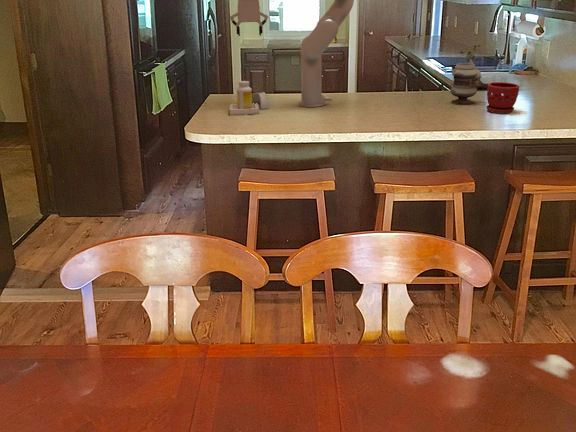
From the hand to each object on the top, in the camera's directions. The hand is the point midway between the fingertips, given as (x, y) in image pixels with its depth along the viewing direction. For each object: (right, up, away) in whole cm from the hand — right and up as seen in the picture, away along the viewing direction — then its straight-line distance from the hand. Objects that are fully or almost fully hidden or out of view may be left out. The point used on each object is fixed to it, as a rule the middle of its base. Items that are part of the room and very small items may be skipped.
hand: (249, 35), depth 281 cm
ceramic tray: (-2, -35, -2) cm, 35 cm away
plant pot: (+111, -37, -11) cm, 117 cm away
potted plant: (+117, -14, +49) cm, 128 cm away
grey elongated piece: (+3, -29, +15) cm, 33 cm away
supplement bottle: (-2, -35, -2) cm, 35 cm away
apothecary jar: (+100, -29, +10) cm, 105 cm away
